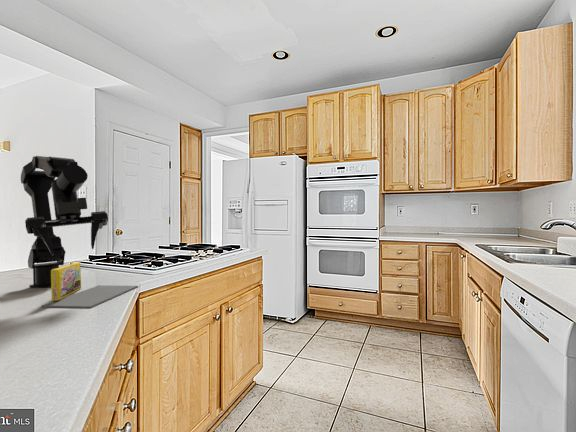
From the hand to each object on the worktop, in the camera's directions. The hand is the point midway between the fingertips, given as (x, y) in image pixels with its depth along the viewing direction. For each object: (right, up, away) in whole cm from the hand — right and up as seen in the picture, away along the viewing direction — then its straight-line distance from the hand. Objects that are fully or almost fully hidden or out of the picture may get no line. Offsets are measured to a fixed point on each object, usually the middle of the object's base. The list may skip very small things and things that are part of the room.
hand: (73, 251), depth 89 cm
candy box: (-4, -13, +4) cm, 14 cm away
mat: (+4, -13, +3) cm, 14 cm away
